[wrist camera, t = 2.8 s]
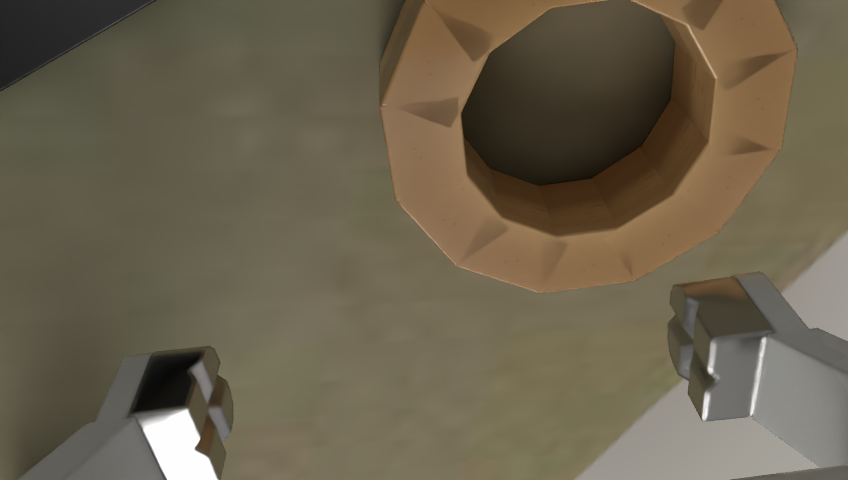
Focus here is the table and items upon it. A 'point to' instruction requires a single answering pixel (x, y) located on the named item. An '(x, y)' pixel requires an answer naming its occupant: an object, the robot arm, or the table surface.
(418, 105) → the ring
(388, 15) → the table surface
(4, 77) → the stand
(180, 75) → the table surface
